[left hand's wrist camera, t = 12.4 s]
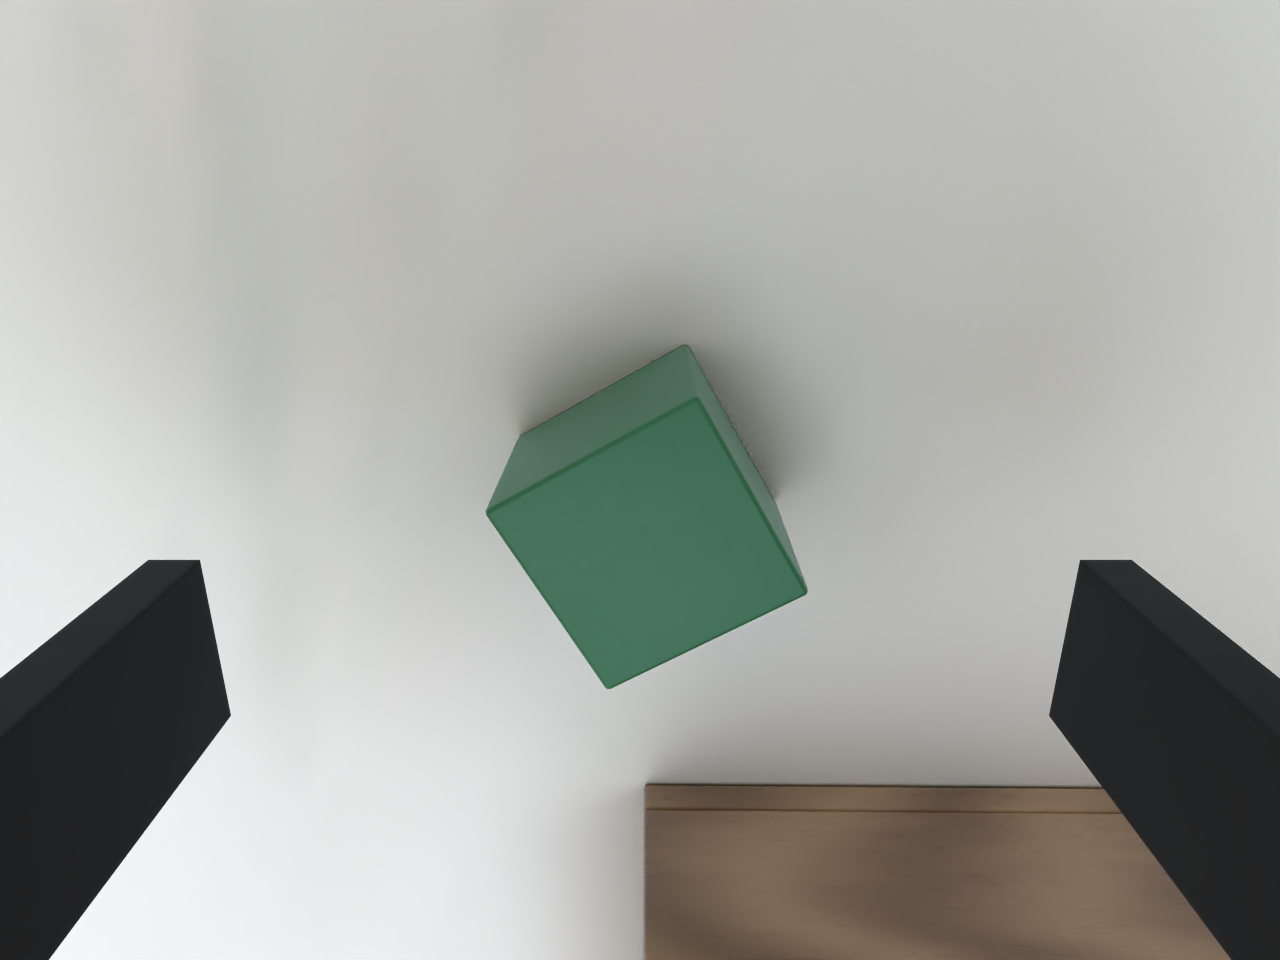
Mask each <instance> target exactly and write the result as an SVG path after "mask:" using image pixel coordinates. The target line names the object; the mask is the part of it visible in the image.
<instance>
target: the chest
mask: <svg viewBox="0 0 1280 960" xmlns="http://www.w3.org/2000/svg"><path fill="white" fill-rule="evenodd" d="M643 960H1231V959H1230V957H1229V956H1228V955H1227V953H1226V952H1225V951H1224V949H1223V948H1222V947H1221V945H1220V944H1219V943H1218V941H1217V940H1216V939H1215V937H1214V936H1213V935H1212V933H1211V932H1210V931H1209V929H1208V928H1207V927H1206V925H1205V924H1204V922H1203V921H1202V920H1201V918H1200V917H1199V916H1198V914H1197V913H1196V912H1195V910H1194V909H1193V908H1192V906H1191V905H1190V904H1189V902H1188V901H1187V900H1186V898H1185V897H1184V896H1183V894H1182V893H1181V892H1180V890H1179V889H1178V888H1177V886H1176V885H1175V884H1174V882H1173V881H1172V880H1171V878H1170V877H1169V876H1168V874H1167V873H1166V872H1165V870H1164V869H1163V868H1162V866H1161V865H1160V864H1159V862H1158V861H1157V859H1156V858H1155V857H1154V855H1153V854H1152V853H1151V851H1150V850H1149V849H1148V847H1147V846H1146V845H1145V843H1144V842H1143V841H1142V839H1141V838H1140V837H1139V835H1138V834H1137V833H1136V831H1135V830H1134V829H1133V827H1132V826H1131V825H1130V823H1129V822H1128V821H1127V819H1126V818H1125V817H1124V815H1123V814H1122V813H1121V811H1120V810H1119V809H1118V807H1117V806H1116V805H1115V803H1114V802H1113V801H1112V799H1111V798H1110V796H1109V795H1108V794H1107V792H1106V791H1105V790H1104V789H1049V788H925V787H801V786H676V785H647V786H646V787H645V789H644V922H643Z"/></svg>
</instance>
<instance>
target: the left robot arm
mask: <svg viewBox="0 0 1280 960" xmlns="http://www.w3.org/2000/svg"><path fill="white" fill-rule="evenodd" d="M230 716H231V714H230V709H229V704H228V699H227V694H226V689H225V684H224V679H223V674H222V669H221V664H220V659H219V654H218V649H217V644H216V639H215V634H214V629H213V624H212V619H211V614H210V609H209V604H208V599H207V594H206V589H205V583H204V578H203V573H202V568H201V563H200V560H148V561H147V562H145V563H144V564H143V565H142V566H140V567H139V568H138V569H137V570H135V571H134V572H133V573H132V574H130V575H129V576H128V577H127V578H125V579H124V580H123V581H122V582H120V583H119V584H118V585H117V586H115V587H114V588H113V589H112V590H110V591H109V592H108V593H107V594H105V595H104V596H103V597H102V598H100V599H99V600H98V601H97V602H95V603H94V604H93V605H92V606H90V607H89V608H88V609H87V610H85V611H84V612H83V613H82V614H80V615H79V616H78V617H77V618H75V619H74V620H73V621H72V622H70V623H69V624H68V625H67V626H65V627H64V628H63V629H62V630H60V631H59V632H58V633H57V634H55V635H54V636H53V637H52V638H50V639H49V640H48V641H47V642H45V643H44V644H43V645H42V646H40V647H39V648H38V649H37V650H35V651H34V652H33V653H32V654H30V655H29V656H28V657H27V658H25V659H24V660H23V661H22V662H20V663H19V664H18V665H16V666H15V667H14V668H13V669H11V670H10V671H9V672H8V673H6V674H5V675H4V676H3V677H1V678H0V960H49V959H50V957H51V956H52V955H53V953H54V952H55V951H56V949H57V948H58V947H59V945H60V944H61V943H62V941H63V940H64V939H65V937H66V936H67V935H68V933H69V932H70V931H71V929H72V928H73V927H74V925H75V924H76V922H77V921H78V920H79V918H80V917H81V916H82V914H83V913H84V912H85V910H86V909H87V908H88V906H89V905H90V904H91V902H92V901H93V900H94V898H95V897H96V896H97V894H98V893H99V892H100V890H101V889H102V888H103V886H104V885H105V884H106V882H107V881H108V880H109V878H110V877H111V876H112V874H113V873H114V872H115V870H116V869H117V868H118V866H119V865H120V864H121V862H122V861H123V859H124V858H125V857H126V855H127V854H128V853H129V851H130V850H131V849H132V847H133V846H134V845H135V843H136V842H137V841H138V839H139V838H140V837H141V835H142V834H143V833H144V831H145V830H146V829H147V827H148V826H149V825H150V823H151V822H152V821H153V819H154V818H155V817H156V815H157V814H158V813H159V811H160V810H161V809H162V807H163V806H164V805H165V803H166V802H167V801H168V799H169V798H170V796H171V795H172V794H173V792H174V791H175V790H176V788H177V787H178V786H179V784H180V783H181V782H182V780H183V779H184V778H185V776H186V775H187V774H188V772H189V771H190V770H191V768H192V767H193V766H194V764H195V763H196V762H197V760H198V759H199V758H200V756H201V755H202V754H203V752H204V751H205V750H206V748H207V747H208V746H209V744H210V743H211V742H212V740H213V739H214V738H215V736H216V735H217V733H218V732H219V731H220V729H221V728H222V727H223V725H224V724H225V723H226V721H227V720H228V719H229V717H230ZM1049 716H1050V717H1051V719H1052V720H1053V721H1054V723H1055V724H1056V725H1057V727H1058V728H1059V729H1060V731H1061V732H1062V733H1063V735H1064V736H1065V738H1066V739H1067V740H1068V742H1069V743H1070V744H1071V746H1072V747H1073V748H1074V750H1075V751H1076V752H1077V754H1078V755H1079V756H1080V758H1081V759H1082V760H1083V762H1084V763H1085V764H1086V766H1087V767H1088V768H1089V770H1090V771H1091V772H1092V774H1093V775H1094V776H1095V778H1096V779H1097V780H1098V782H1099V783H1100V784H1101V786H1102V787H1103V788H1104V790H1105V791H1106V792H1107V794H1108V795H1109V796H1110V798H1111V799H1112V801H1113V802H1114V803H1115V805H1116V806H1117V807H1118V809H1119V810H1120V811H1121V813H1122V814H1123V815H1124V817H1125V818H1126V819H1127V821H1128V822H1129V823H1130V825H1131V826H1132V827H1133V829H1134V830H1135V831H1136V833H1137V834H1138V835H1139V837H1140V838H1141V839H1142V841H1143V842H1144V843H1145V845H1146V846H1147V847H1148V849H1149V850H1150V851H1151V853H1152V854H1153V855H1154V857H1155V858H1156V859H1157V861H1158V862H1159V864H1160V865H1161V866H1162V868H1163V869H1164V870H1165V872H1166V873H1167V874H1168V876H1169V877H1170V878H1171V880H1172V881H1173V882H1174V884H1175V885H1176V886H1177V888H1178V889H1179V890H1180V892H1181V893H1182V894H1183V896H1184V897H1185V898H1186V900H1187V901H1188V902H1189V904H1190V905H1191V906H1192V908H1193V909H1194V910H1195V912H1196V913H1197V914H1198V916H1199V917H1200V918H1201V920H1202V921H1203V922H1204V924H1205V925H1206V927H1207V928H1208V929H1209V931H1210V932H1211V933H1212V935H1213V936H1214V937H1215V939H1216V940H1217V941H1218V943H1219V944H1220V945H1221V947H1222V948H1223V949H1224V951H1225V952H1226V953H1227V955H1228V956H1229V957H1230V959H1231V960H1280V678H1279V677H1277V676H1276V675H1275V674H1274V673H1272V672H1271V671H1270V670H1269V669H1267V668H1266V667H1265V666H1264V665H1262V664H1261V663H1260V662H1258V661H1257V660H1256V659H1255V658H1253V657H1252V656H1251V655H1250V654H1248V653H1247V652H1246V651H1245V650H1243V649H1242V648H1241V647H1240V646H1238V645H1237V644H1236V643H1235V642H1233V641H1232V640H1231V639H1230V638H1228V637H1227V636H1226V635H1225V634H1223V633H1222V632H1221V631H1220V630H1218V629H1217V628H1216V627H1215V626H1213V625H1212V624H1211V623H1210V622H1208V621H1207V620H1206V619H1205V618H1203V617H1202V616H1201V615H1200V614H1198V613H1197V612H1196V611H1195V610H1193V609H1192V608H1191V607H1190V606H1188V605H1187V604H1186V603H1185V602H1183V601H1182V600H1181V599H1180V598H1178V597H1177V596H1176V595H1175V594H1173V593H1172V592H1171V591H1170V590H1168V589H1167V588H1166V587H1165V586H1163V585H1162V584H1161V583H1160V582H1158V581H1157V580H1156V579H1155V578H1153V577H1152V576H1151V575H1150V574H1148V573H1147V572H1146V571H1145V570H1143V569H1142V568H1141V567H1140V566H1138V565H1137V564H1136V563H1135V562H1133V561H1132V560H1080V563H1079V568H1078V573H1077V578H1076V583H1075V589H1074V594H1073V599H1072V604H1071V609H1070V614H1069V619H1068V624H1067V629H1066V634H1065V639H1064V644H1063V649H1062V654H1061V659H1060V664H1059V669H1058V674H1057V679H1056V684H1055V689H1054V694H1053V699H1052V704H1051V709H1050V714H1049Z"/></svg>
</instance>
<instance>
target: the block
mask: <svg viewBox="0 0 1280 960" xmlns="http://www.w3.org/2000/svg"><path fill="white" fill-rule="evenodd" d="M486 515H487V517H488V518H489V519H490V521H491V522H492V524H493V525H494V527H495V528H496V530H497V531H498V532H499V534H500V535H501V537H502V538H503V540H504V541H505V543H506V544H507V546H508V547H509V548H510V550H511V551H512V553H513V554H514V556H515V557H516V559H517V560H518V561H519V563H520V564H521V566H522V567H523V569H524V570H525V572H526V573H527V575H528V576H529V577H530V579H531V580H532V582H533V583H534V585H535V586H536V588H537V589H538V590H539V592H540V593H541V595H542V596H543V598H544V599H545V601H546V602H547V603H548V605H549V606H550V608H551V609H552V611H553V612H554V614H555V615H556V617H557V618H558V619H559V621H560V622H561V624H562V625H563V627H564V628H565V630H566V631H567V632H568V634H569V635H570V637H571V638H572V640H573V641H574V643H575V644H576V646H577V647H578V648H579V650H580V651H581V653H582V654H583V656H584V657H585V659H586V660H587V661H588V663H589V664H590V666H591V667H592V669H593V670H594V672H595V673H596V675H597V676H598V677H599V679H600V680H601V682H602V683H603V685H604V686H605V687H606V688H607V689H611V688H613V687H615V686H617V685H619V684H621V683H623V682H625V681H627V680H630V679H632V678H634V677H636V676H638V675H640V674H642V673H644V672H646V671H648V670H650V669H652V668H654V667H657V666H659V665H661V664H663V663H665V662H667V661H669V660H671V659H673V658H675V657H677V656H679V655H681V654H684V653H686V652H688V651H690V650H692V649H694V648H696V647H698V646H700V645H702V644H704V643H706V642H708V641H711V640H713V639H715V638H717V637H719V636H721V635H723V634H725V633H727V632H729V631H731V630H733V629H735V628H738V627H740V626H742V625H744V624H746V623H748V622H750V621H752V620H754V619H756V618H758V617H760V616H762V615H765V614H767V613H769V612H771V611H773V610H775V609H777V608H779V607H781V606H783V605H785V604H787V603H789V602H792V601H794V600H796V599H798V598H800V597H802V596H804V595H805V594H806V593H807V586H806V583H805V581H804V578H803V575H802V573H801V570H800V567H799V565H798V562H797V559H796V557H795V554H794V551H793V549H792V546H791V543H790V540H789V538H788V535H787V532H786V530H785V527H784V524H783V522H782V519H781V516H780V514H779V511H778V508H777V505H776V503H775V501H774V499H773V497H772V495H771V494H770V492H769V490H768V488H767V486H766V484H765V483H764V481H763V479H762V477H761V475H760V474H759V472H758V470H757V468H756V466H755V465H754V463H753V461H752V459H751V457H750V456H749V454H748V452H747V450H746V448H745V447H744V445H743V443H742V441H741V439H740V438H739V436H738V434H737V432H736V430H735V429H734V427H733V425H732V423H731V421H730V420H729V418H728V416H727V414H726V412H725V411H724V409H723V407H722V405H721V403H720V402H719V400H718V398H717V396H716V394H715V393H714V391H713V389H712V387H711V385H710V384H709V382H708V380H707V378H706V376H705V375H704V373H703V371H702V369H701V367H700V366H699V364H698V362H697V360H696V358H695V357H694V355H693V353H692V351H691V349H690V348H689V346H687V345H682V346H681V347H679V348H677V349H675V350H673V351H672V352H670V353H668V354H666V355H664V356H663V357H661V358H659V359H657V360H656V361H654V362H652V363H650V364H648V365H647V366H645V367H643V368H641V369H639V370H638V371H636V372H634V373H632V374H630V375H629V376H627V377H625V378H623V379H621V380H620V381H618V382H616V383H614V384H612V385H611V386H609V387H607V388H605V389H604V390H602V391H600V392H598V393H596V394H595V395H593V396H591V397H589V398H587V399H586V400H584V401H582V402H580V403H578V404H577V405H575V406H573V407H571V408H569V409H568V410H566V411H564V412H562V413H560V414H559V415H557V416H555V417H553V418H552V419H550V420H548V421H546V422H544V423H543V424H541V425H539V426H537V427H535V428H534V429H532V430H530V431H528V432H526V433H525V434H523V435H521V436H520V437H519V438H518V440H517V443H516V445H515V447H514V449H513V452H512V454H511V456H510V458H509V460H508V463H507V465H506V467H505V469H504V472H503V474H502V476H501V478H500V480H499V483H498V485H497V487H496V489H495V492H494V494H493V496H492V498H491V500H490V503H489V505H488V507H487V509H486Z"/></svg>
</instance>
